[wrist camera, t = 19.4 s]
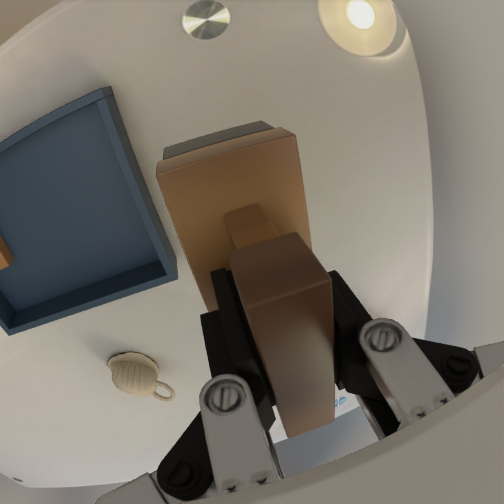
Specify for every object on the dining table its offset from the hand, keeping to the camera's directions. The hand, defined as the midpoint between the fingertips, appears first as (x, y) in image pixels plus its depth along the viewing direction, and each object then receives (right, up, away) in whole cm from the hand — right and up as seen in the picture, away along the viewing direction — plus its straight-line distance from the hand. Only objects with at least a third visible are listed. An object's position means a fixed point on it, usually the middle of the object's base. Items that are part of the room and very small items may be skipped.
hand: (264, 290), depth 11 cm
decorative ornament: (-15, -13, +27) cm, 34 cm away
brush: (-1, +2, +3) cm, 4 cm away
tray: (-20, +4, +14) cm, 25 cm away
